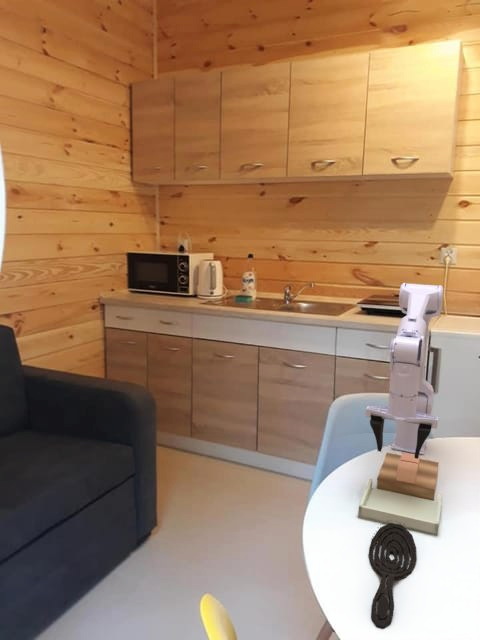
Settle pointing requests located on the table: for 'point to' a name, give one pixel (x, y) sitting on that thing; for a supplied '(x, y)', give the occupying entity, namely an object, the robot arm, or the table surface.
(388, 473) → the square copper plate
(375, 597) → the hairbrush
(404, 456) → the tile rear
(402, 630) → the table surface
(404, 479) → the tile front
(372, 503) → the tray
